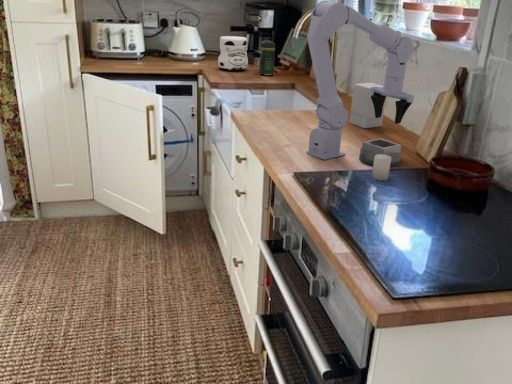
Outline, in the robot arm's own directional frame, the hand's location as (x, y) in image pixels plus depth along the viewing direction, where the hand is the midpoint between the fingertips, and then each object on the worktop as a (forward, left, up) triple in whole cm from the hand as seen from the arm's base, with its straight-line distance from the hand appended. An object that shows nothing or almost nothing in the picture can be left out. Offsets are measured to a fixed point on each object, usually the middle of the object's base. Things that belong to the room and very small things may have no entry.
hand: (387, 120), depth 155 cm
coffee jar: (+51, +123, -10) cm, 133 cm away
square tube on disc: (-10, -6, -10) cm, 15 cm away
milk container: (+43, +144, -10) cm, 150 cm away
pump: (-21, -15, -10) cm, 28 cm away
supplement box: (+19, +24, -10) cm, 32 cm away
